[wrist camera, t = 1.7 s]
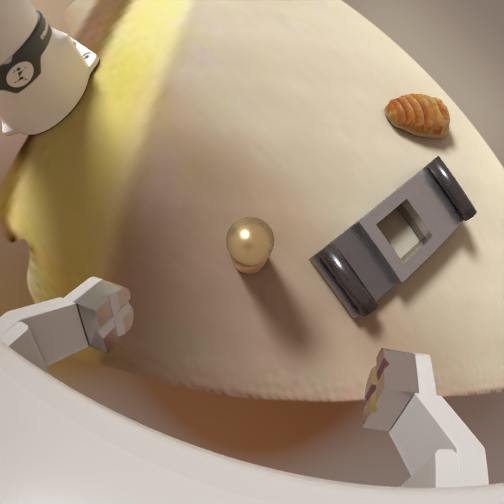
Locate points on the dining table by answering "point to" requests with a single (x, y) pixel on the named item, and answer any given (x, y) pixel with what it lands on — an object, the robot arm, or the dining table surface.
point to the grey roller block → (379, 249)
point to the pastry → (419, 115)
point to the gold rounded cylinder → (250, 244)
